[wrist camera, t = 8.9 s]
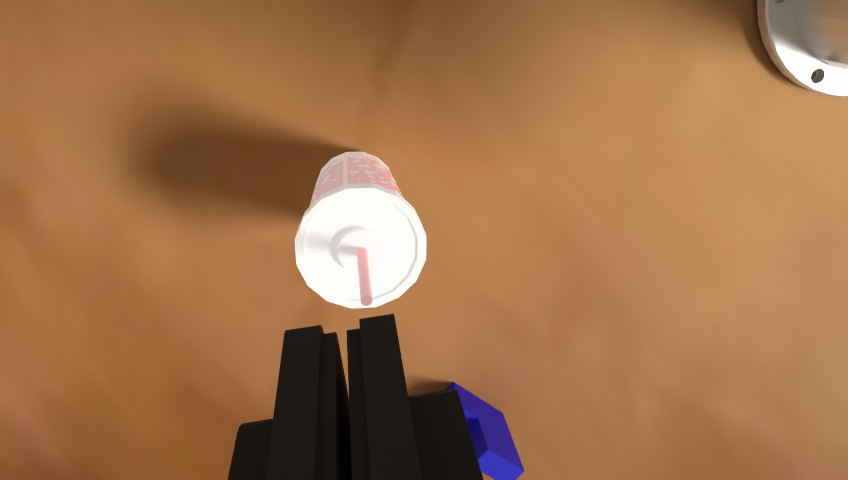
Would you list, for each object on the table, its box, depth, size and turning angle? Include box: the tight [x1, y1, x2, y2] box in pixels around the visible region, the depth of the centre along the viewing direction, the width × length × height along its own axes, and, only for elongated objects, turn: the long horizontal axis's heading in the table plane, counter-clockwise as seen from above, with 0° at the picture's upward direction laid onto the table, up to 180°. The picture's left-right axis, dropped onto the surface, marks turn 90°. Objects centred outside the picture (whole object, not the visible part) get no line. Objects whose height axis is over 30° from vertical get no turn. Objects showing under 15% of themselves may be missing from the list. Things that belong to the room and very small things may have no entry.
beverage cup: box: [295, 152, 426, 308], centre depth 33 cm, size 6×6×14 cm
